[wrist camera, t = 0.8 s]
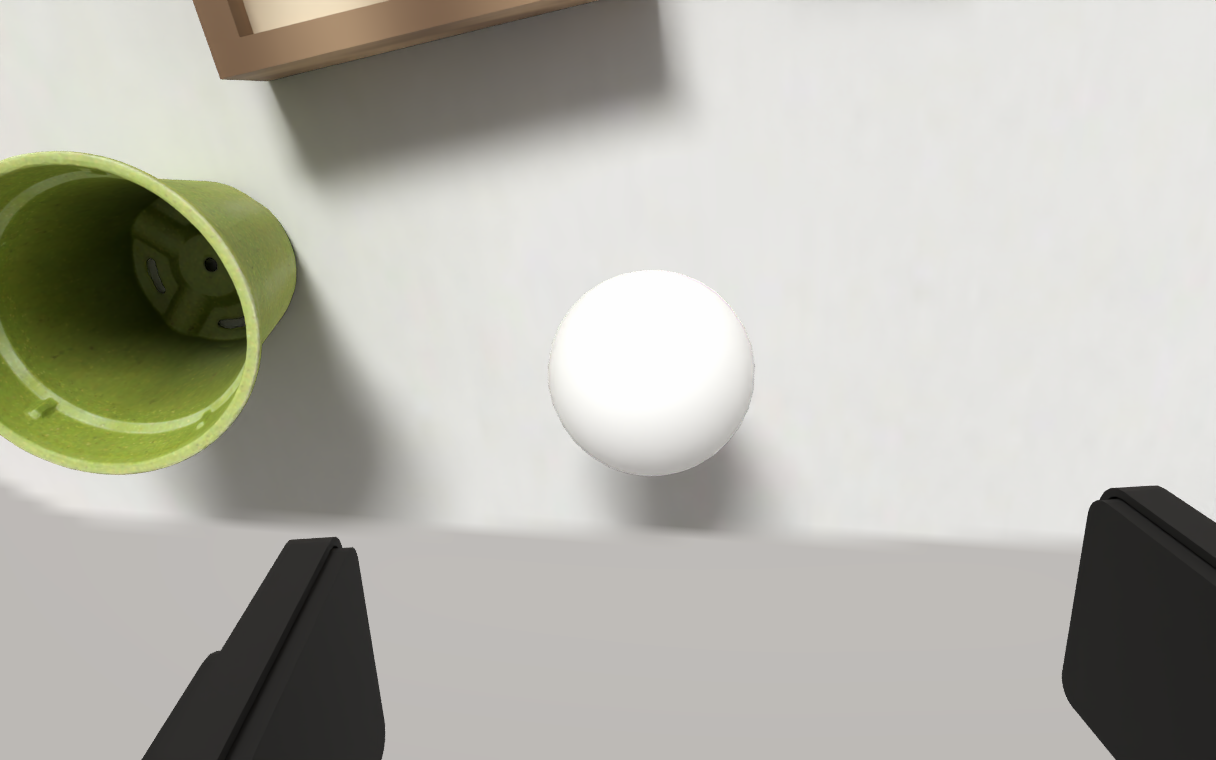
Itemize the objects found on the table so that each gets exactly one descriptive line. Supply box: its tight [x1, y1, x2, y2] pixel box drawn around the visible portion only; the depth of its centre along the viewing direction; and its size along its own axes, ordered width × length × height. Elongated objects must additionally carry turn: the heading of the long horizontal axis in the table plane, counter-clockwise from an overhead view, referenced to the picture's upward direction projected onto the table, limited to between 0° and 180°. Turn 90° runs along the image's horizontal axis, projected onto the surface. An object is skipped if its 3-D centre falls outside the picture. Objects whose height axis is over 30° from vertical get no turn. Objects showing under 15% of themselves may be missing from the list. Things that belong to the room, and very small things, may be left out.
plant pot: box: [0, 151, 296, 475], centre depth 28 cm, size 9×9×9 cm
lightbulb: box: [548, 270, 755, 476], centre depth 27 cm, size 6×6×11 cm
